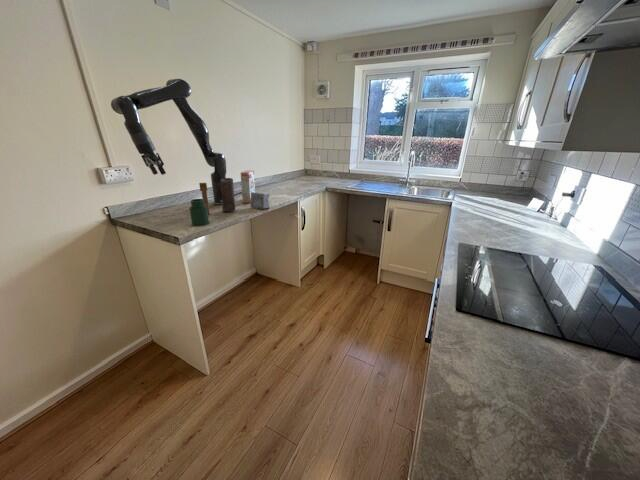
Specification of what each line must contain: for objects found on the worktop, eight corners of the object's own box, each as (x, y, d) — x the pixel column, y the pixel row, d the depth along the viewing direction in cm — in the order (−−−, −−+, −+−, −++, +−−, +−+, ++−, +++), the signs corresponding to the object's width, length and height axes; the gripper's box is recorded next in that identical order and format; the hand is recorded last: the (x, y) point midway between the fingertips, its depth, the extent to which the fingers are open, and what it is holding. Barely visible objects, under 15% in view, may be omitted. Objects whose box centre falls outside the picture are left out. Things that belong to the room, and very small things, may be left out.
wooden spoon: (204, 213, 154) (200, 182, 147) (211, 213, 155) (206, 182, 148) (203, 214, 152) (198, 183, 145) (209, 214, 152) (205, 183, 145)
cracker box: (251, 203, 180) (248, 172, 172) (242, 203, 180) (239, 172, 172) (256, 199, 193) (254, 170, 185) (248, 198, 193) (245, 170, 185)
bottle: (201, 220, 143) (197, 197, 138) (212, 222, 140) (209, 199, 135) (188, 224, 136) (184, 200, 131) (200, 226, 133) (196, 202, 128)
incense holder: (270, 207, 171) (269, 191, 168) (263, 210, 164) (262, 194, 160) (257, 205, 174) (256, 190, 171) (250, 208, 167) (249, 192, 163)
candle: (238, 210, 162) (235, 178, 155) (230, 213, 156) (227, 180, 148) (228, 209, 164) (224, 177, 157) (220, 212, 158) (216, 179, 150)
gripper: (157, 139, 125) (173, 171, 134) (143, 141, 133) (160, 171, 141) (141, 143, 120) (159, 177, 129) (128, 145, 128) (146, 176, 136)
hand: (159, 174), depth 135 cm, fingers open, 8 cm apart
